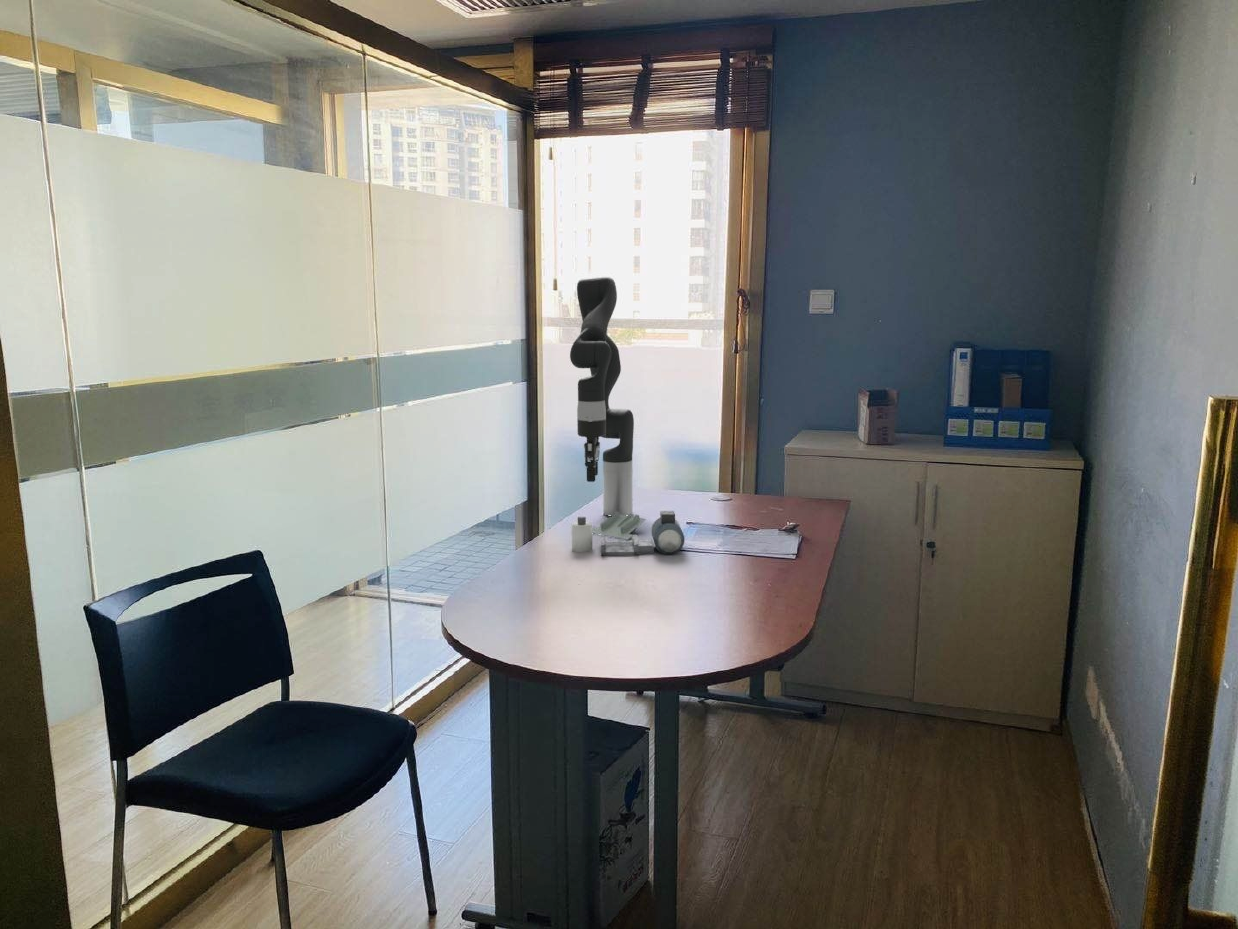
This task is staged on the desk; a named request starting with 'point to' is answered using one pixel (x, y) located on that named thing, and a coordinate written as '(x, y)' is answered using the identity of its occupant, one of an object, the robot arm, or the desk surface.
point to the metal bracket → (619, 526)
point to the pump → (581, 535)
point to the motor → (664, 536)
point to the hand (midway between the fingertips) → (592, 478)
